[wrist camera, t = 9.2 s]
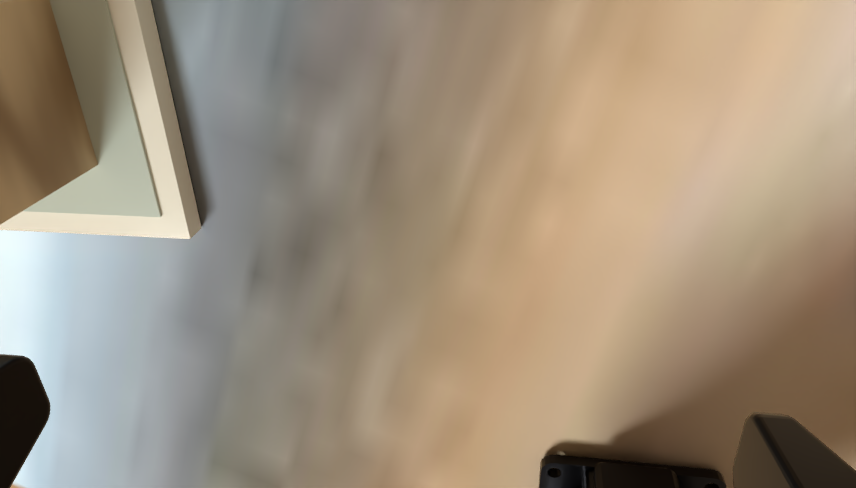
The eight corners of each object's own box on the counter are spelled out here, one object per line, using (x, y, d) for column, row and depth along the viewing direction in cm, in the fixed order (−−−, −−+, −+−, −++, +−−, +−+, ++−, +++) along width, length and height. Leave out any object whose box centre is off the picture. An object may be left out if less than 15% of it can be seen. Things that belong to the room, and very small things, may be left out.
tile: (201, 227, 22) (188, 240, 21) (-59, 215, 23) (-79, 227, 22) (125, -112, 17) (105, -112, 16) (-195, -100, 18) (-228, -99, 18)
